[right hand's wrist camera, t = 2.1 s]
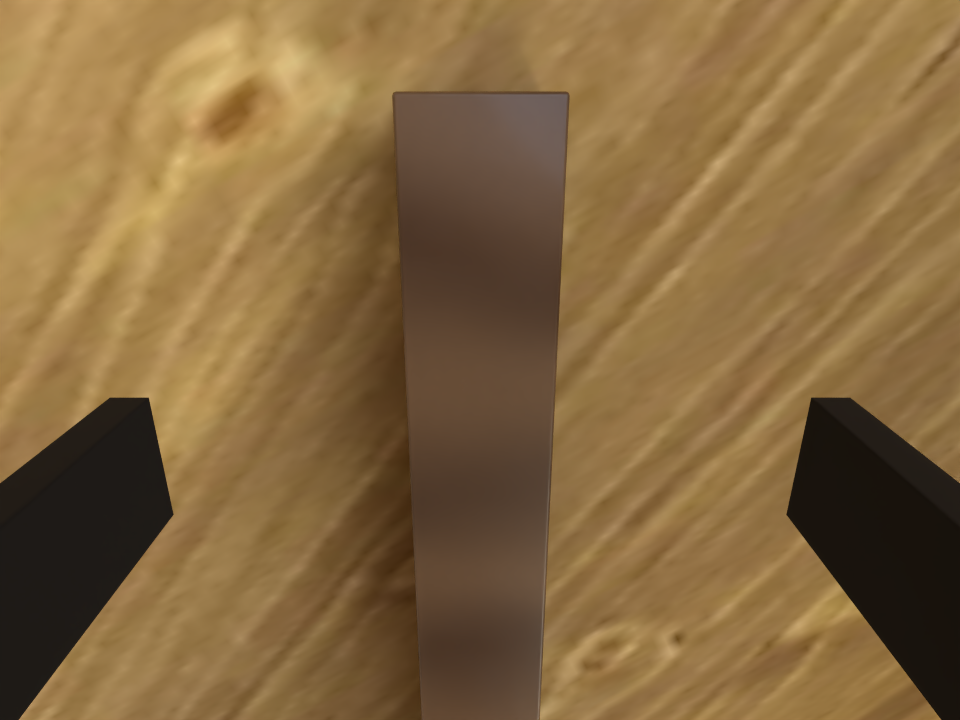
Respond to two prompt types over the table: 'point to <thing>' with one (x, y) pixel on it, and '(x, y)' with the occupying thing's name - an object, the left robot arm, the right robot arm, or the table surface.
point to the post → (480, 384)
